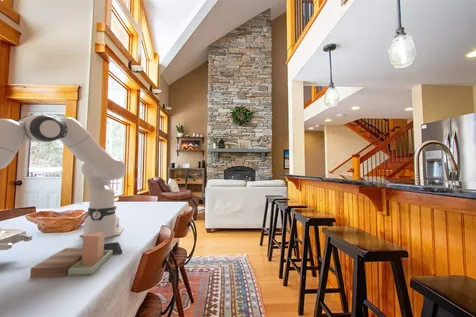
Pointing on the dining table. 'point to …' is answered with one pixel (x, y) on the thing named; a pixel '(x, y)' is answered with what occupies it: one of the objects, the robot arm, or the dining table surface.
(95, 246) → the terracotta block
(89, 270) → the box
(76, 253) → the platform
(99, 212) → the robot arm
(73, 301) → the dining table surface
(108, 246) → the phone
